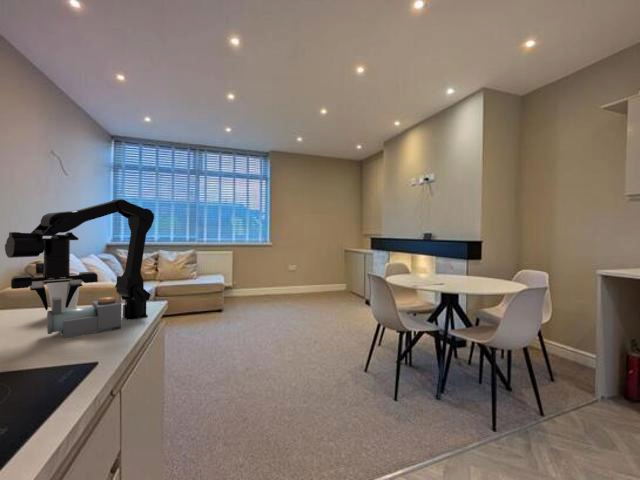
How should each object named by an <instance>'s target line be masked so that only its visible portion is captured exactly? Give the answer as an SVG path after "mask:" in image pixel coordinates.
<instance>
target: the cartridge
mask: <svg viewBox="0 0 640 480" xmlns="http://www.w3.org/2000/svg"><path fill="white" fill-rule="evenodd" d="M61 301H62V299H61V298H60V297H56V298H52V309H51V310H47V313H46V331H47V335H52V334H53V333H57V332H60V331H63V321H65V320H71V319H78V318H85V317H92V316H96V312H95V307H94V306H92V305H91V306H87V307H86V306H85V307H78V308H77V307H76V309H68V310H61Z"/></svg>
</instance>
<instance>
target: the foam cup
mask: <svg viewBox="0 0 640 480" xmlns="http://www.w3.org/2000/svg"><path fill="white" fill-rule="evenodd" d="M68 283H70V282H57V283H46V287H47V292H48V297H49V303H50V310H52V298H56V297H60V298H61V299H62V301H61V310H68V309H76V308H77V305H78V301H79V294H80V287H81V286H79V287H78V288H77V290H76V291H75V293H74V295H73V297H72V299H71V301H70V303H69V305H68V308H66V307H65V302H66V295H67V288H68Z"/></svg>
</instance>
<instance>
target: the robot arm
mask: <svg viewBox="0 0 640 480" xmlns="http://www.w3.org/2000/svg"><path fill="white" fill-rule="evenodd" d="M115 213H118V214H119V215H121V216H122V217H123V218H126V219H127V224H128V227H129V230H130V237H129V242H128V250H127V255H126V263H125V269H124V272H123V273H122V275H121V276H120V275H117V276H116V283H115V286H114V288H116V293H117V294H118V295H119V296H120V298H121V299H122V301H124V304H123V305H122V317H123V318H124V319H126V321H130V320H131V321H132V320H137V319H142V318H148V317H149V315H148V314H147V302H148V301H149V300H150V299H151V298H150V297H151V293H150V292H148V291H147V290H146V289H145V285H144V284H145V283H144V281H145V280H144V279H143V275H142V266H143V259H144V258H143V257H144V251H145V246H146V239H147V234H148V232H149V230H151V228H152V226H153V223H154V220H155V213H154V212H153V211H152V210H151V209H149V208H144V207H142V206H139V205H137V204H134V203H131V202H129V201H127V200H126V199H123V198H119V199H112V200H111V201H110V200H109V201H107V202H102V203H99V204H95V205H92V206H89V207H85V208H84V207H83V208H81V209H75V210H71V211H70V210H69V211H59V212H58V211H57V212H49V213H45V214H44V215H42V217H41V219H40V223H39V224H38V225H37V226H36V227H35V228H34V229H33V230H32V231H31V232H18V231H16V232H15V231H9V232H8V237H7V239H6V242H5V244H4V251H5V255H6V257H8V258H9V259H11V258H13V259H15V258H16V259H17V258H34V257H39V256H40V254H43V262H39V263H38V262H37V263H35V276H36V275H37V276H38V275H42V276H41V277H40V276H39V277H32V275H16V276H15V275H14V276H13V277H11V279H10V282H11V283H10V284H11V285H10V289H11V290H15V289H17V290H18V289H28V288H29V290H30V291H36V293H37V295H38V296H39V298H40V300H41V302H42V305H43V306H44V310H45V311H49V309H48V308H49V305H48V298H47V292H46V291H47V290H46V286H44V285H45V284H47V283H57V282H70V283H68V288H67V295H66V302H65V307H66V308H68V305H69V303H70V301H71V299H72V297H73V295H74V293H75V291H76V290H77V288H78V287H79V286H80V287H83V283H84V284H89V283H90V284H91V283H98V281H99V280H98V277H99V275H98V274H97V273H96V272H94V271H81V272H80V271H79V273H78V274H73V275H70V265H71V264H70V261H71V260H70V258H71V257H70V255H71V254H70V253H71V252H70V251H71V249H70V248H71V247H70V246H71V245H70V243H71V241H79V237H77V236H76V235H75V234H74V233H73V232H70V231H71V230H74V229H76V228H78V227H79V226H81V225H82V224H84V223H86V222H89V221H92V220H95V219H99V218H102V217H105V216H109V215H112V214H115ZM61 233H62V234H61ZM63 233H64V234H63ZM44 237H45V238H44ZM47 237H49V238H47ZM82 282H83V283H82Z"/></svg>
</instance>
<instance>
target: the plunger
mask: <svg viewBox="0 0 640 480" xmlns="http://www.w3.org/2000/svg"><path fill="white" fill-rule="evenodd" d="M115 300H116V297H114V296H107V297H106V296H105V297H100V298H97V301H98V304H99V305H103V304H111V303H115Z"/></svg>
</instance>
